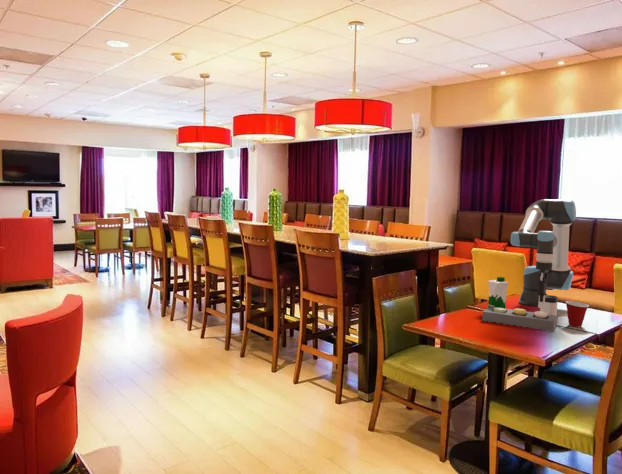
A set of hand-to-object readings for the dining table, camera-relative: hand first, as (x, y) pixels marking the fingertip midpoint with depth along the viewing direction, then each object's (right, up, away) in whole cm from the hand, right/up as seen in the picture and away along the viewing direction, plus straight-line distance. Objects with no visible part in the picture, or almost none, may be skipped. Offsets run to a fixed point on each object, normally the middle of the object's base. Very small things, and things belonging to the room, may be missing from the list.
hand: (541, 307), depth 251 cm
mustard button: (-8, -4, +6) cm, 11 cm away
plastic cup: (+19, -10, +3) cm, 22 cm away
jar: (+12, -8, +17) cm, 22 cm away
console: (-8, -9, +6) cm, 14 cm away
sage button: (-17, -4, +11) cm, 21 cm away
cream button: (0, -5, +1) cm, 5 cm away
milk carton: (-12, -7, +28) cm, 31 cm away
